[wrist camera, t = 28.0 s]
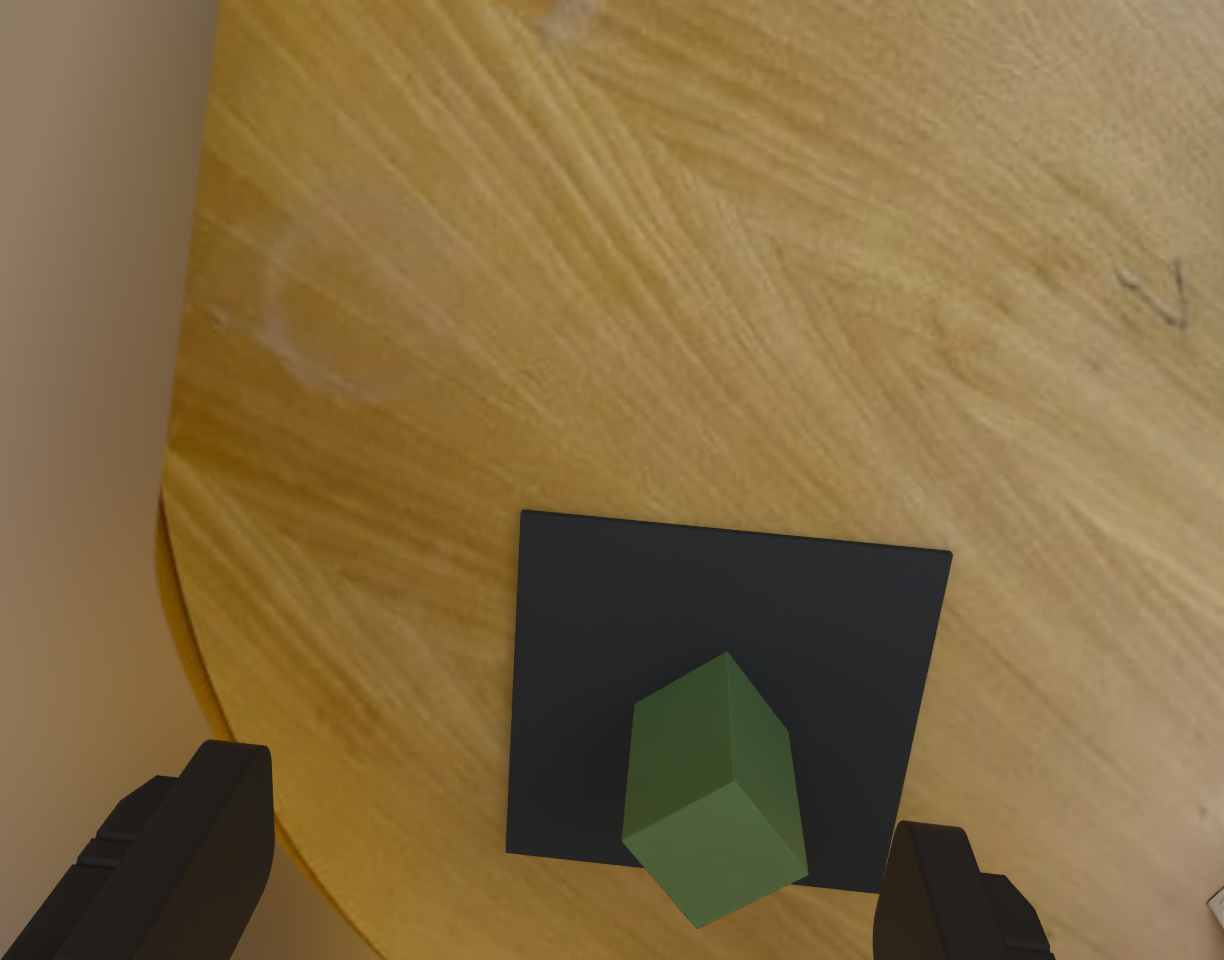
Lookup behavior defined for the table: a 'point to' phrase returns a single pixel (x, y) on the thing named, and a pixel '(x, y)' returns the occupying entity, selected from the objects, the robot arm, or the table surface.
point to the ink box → (1218, 906)
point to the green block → (713, 793)
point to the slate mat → (697, 633)
